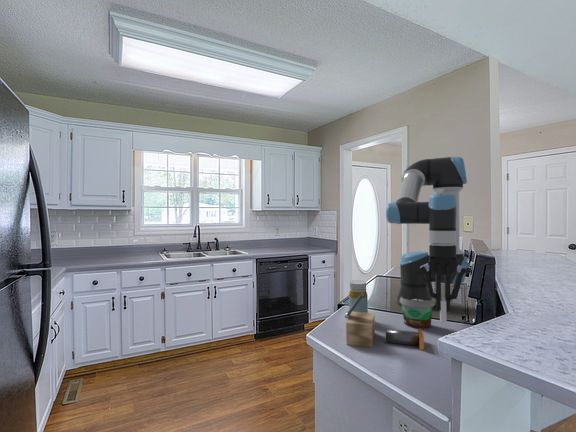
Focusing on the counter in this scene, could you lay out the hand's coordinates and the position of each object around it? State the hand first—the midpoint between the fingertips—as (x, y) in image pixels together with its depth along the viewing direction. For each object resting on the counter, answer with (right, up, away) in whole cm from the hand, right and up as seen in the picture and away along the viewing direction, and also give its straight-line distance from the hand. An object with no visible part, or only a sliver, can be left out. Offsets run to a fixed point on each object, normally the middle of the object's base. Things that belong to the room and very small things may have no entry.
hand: (443, 320), depth 98 cm
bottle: (-20, -9, +26) cm, 34 cm away
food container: (0, -8, +18) cm, 20 cm away
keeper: (-25, +2, +9) cm, 27 cm away
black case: (-11, -9, +5) cm, 15 cm away
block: (-23, -9, +9) cm, 26 cm away
